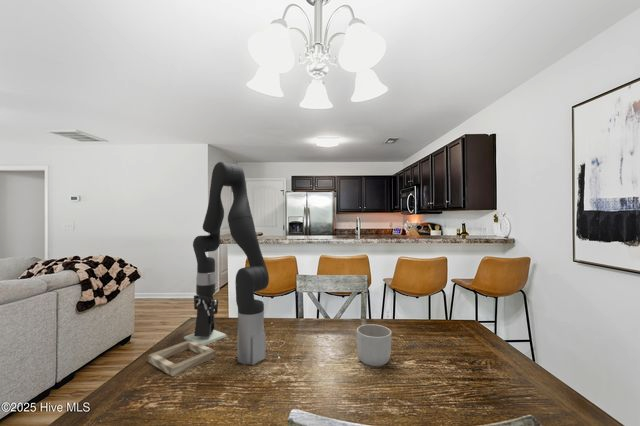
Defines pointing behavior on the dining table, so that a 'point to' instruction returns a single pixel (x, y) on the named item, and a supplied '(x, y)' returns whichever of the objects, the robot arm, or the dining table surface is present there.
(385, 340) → the planter
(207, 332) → the phone stand
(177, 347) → the pocket holder
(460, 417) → the dining table surface
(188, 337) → the sage mat
